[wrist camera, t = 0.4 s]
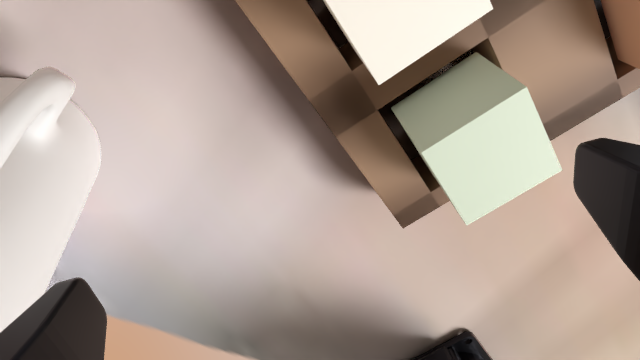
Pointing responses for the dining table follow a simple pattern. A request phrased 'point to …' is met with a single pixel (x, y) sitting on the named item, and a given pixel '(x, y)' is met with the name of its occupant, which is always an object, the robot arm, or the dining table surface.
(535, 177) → the key sage
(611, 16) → the key terracotta
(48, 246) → the mug
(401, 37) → the cream white cube
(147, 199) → the dining table surface
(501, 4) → the brown shallow tray
